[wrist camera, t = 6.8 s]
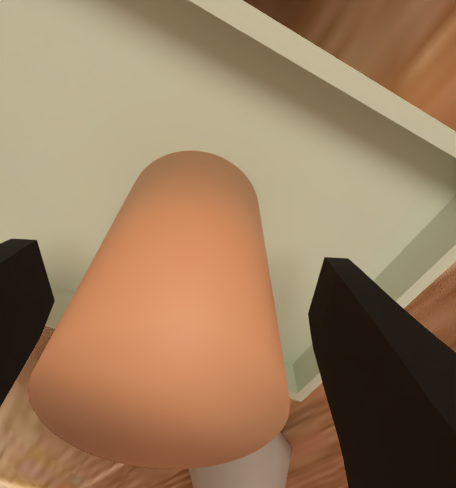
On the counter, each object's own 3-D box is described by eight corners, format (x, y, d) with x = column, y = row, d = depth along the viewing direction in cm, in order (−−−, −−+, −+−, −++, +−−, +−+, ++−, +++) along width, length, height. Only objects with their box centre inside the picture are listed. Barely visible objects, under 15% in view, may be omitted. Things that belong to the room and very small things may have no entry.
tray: (483, 153, 11) (539, 183, 9) (292, 355, 18) (301, 401, 15) (-31, -163, 7) (-130, -230, 5) (-48, 242, 14) (-98, 284, 11)
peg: (265, 153, 10) (311, 329, 5) (253, 265, 13) (273, 470, 7) (121, 147, 10) (-13, 320, 5) (137, 261, 13) (63, 467, 7)
